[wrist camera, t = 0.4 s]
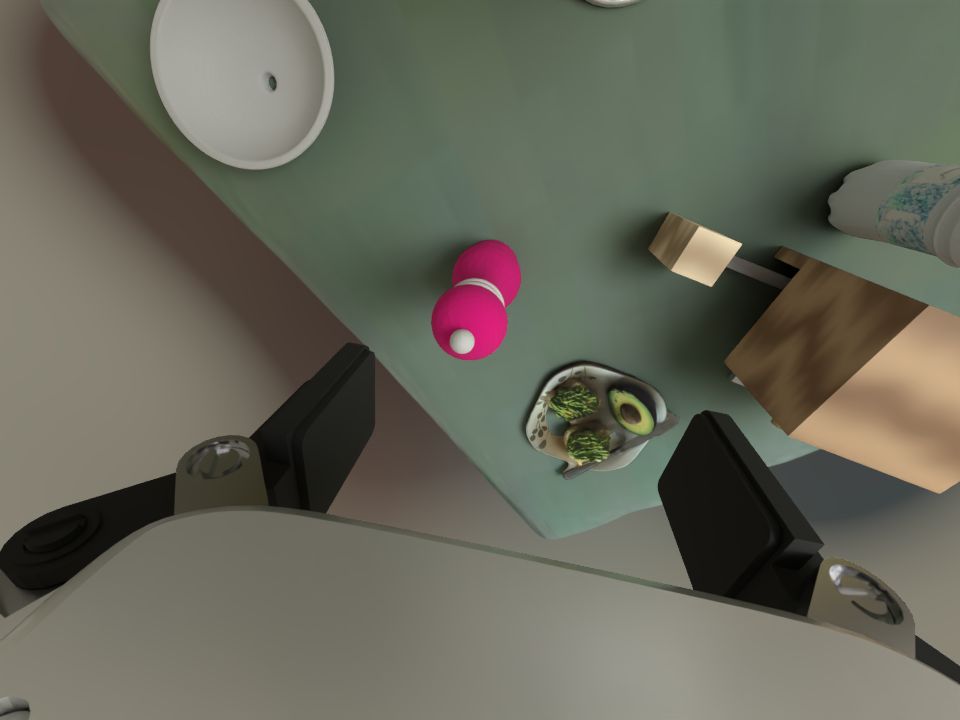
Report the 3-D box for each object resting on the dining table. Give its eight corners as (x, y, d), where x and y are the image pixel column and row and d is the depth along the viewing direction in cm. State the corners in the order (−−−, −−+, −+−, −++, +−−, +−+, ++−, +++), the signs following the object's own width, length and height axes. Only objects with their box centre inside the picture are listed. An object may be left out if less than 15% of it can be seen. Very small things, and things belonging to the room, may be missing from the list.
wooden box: (782, 246, 38) (929, 305, 24) (902, 295, 39) (1113, 381, 24) (699, 352, 45) (775, 447, 30) (803, 392, 45) (923, 504, 31)
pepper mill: (525, 293, 44) (517, 387, 27) (466, 300, 45) (422, 393, 28) (518, 230, 41) (504, 291, 23) (454, 239, 42) (397, 303, 25)
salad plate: (612, 487, 58) (617, 513, 54) (506, 448, 57) (503, 471, 53) (689, 395, 48) (703, 417, 44) (563, 345, 47) (565, 363, 43)
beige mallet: (669, 211, 38) (699, 226, 31) (870, 294, 39) (941, 325, 32) (647, 249, 40) (670, 270, 33) (838, 326, 41) (899, 362, 34)
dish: (309, -61, 31) (272, -94, 27) (383, 129, 38) (363, 126, 33) (161, 36, 36) (110, 20, 32) (249, 189, 42) (217, 194, 38)
